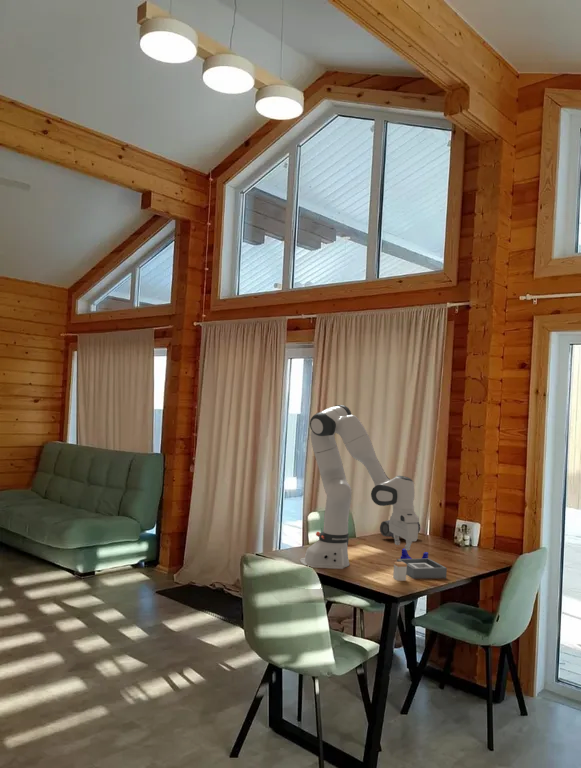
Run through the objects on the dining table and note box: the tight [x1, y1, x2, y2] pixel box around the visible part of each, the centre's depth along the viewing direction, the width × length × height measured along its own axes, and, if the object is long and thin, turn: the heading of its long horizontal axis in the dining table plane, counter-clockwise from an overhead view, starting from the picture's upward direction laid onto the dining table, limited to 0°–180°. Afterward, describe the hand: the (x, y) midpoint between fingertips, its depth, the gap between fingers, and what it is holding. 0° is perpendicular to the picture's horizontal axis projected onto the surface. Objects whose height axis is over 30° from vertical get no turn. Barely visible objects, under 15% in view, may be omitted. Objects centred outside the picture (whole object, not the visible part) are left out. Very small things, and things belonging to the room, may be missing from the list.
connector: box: [392, 561, 407, 582], centre depth 277 cm, size 4×4×8 cm
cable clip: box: [399, 547, 429, 559], centre depth 309 cm, size 12×4×6 cm, turn 62°
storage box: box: [396, 557, 448, 579], centre depth 290 cm, size 16×16×5 cm
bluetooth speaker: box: [379, 519, 421, 539], centre depth 365 cm, size 23×9×10 cm, turn 121°
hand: (402, 547), depth 277 cm, fingers open, 8 cm apart
